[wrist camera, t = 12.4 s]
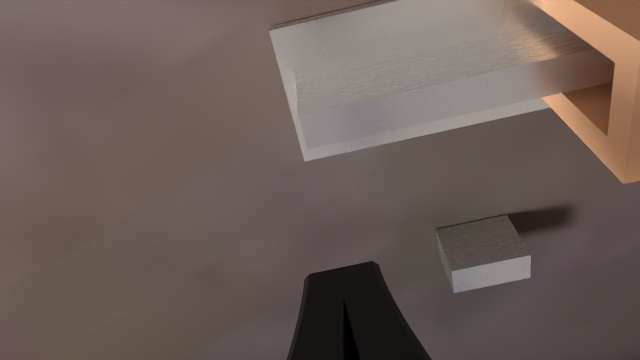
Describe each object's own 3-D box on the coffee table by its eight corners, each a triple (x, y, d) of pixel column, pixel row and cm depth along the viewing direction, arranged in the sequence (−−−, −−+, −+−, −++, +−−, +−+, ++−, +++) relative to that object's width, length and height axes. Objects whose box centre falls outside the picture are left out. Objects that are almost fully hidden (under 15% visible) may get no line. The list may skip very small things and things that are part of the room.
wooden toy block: (507, 236, 23) (530, 277, 21) (437, 250, 23) (454, 292, 21) (506, 214, 22) (530, 255, 20) (435, 229, 23) (451, 271, 21)
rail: (800, 46, 19) (885, 83, 16) (304, 155, 20) (309, 207, 18) (848, -111, 16) (959, -96, 14) (269, 26, 17) (268, 65, 15)
